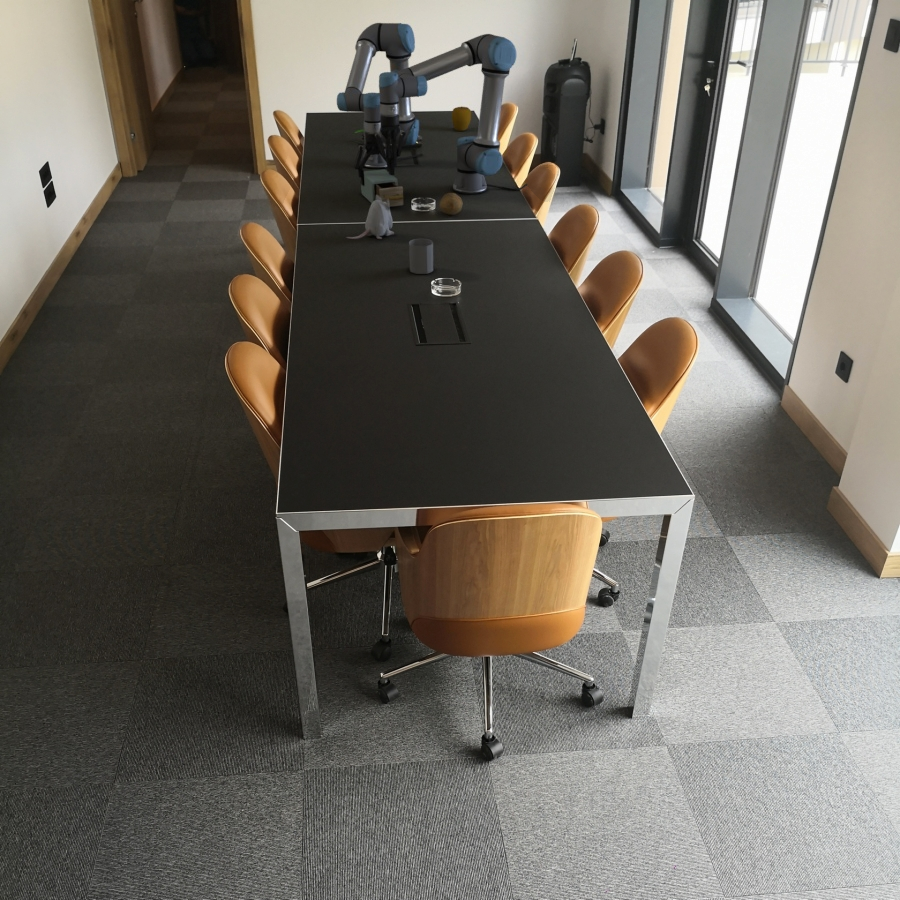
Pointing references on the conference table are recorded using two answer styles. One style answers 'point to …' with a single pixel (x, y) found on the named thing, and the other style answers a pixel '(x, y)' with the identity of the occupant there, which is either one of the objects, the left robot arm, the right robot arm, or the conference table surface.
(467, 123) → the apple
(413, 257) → the cup
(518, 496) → the conference table surface
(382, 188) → the drawer
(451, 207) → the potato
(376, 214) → the toy
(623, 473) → the conference table surface
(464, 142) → the right robot arm
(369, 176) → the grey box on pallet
